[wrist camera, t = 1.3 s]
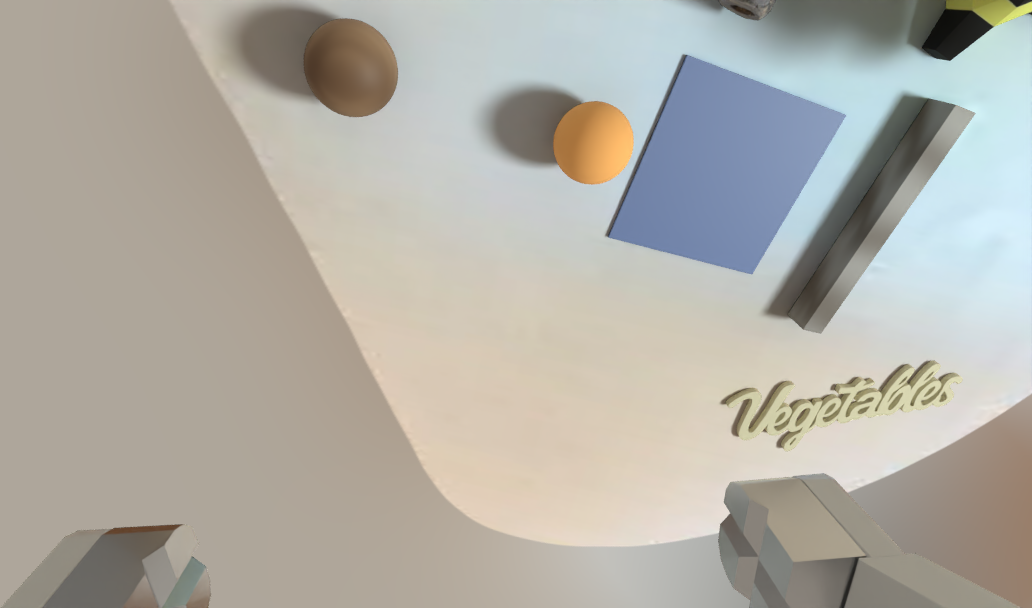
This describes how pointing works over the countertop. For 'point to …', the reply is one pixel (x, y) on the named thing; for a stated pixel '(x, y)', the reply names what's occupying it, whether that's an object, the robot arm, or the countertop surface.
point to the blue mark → (723, 167)
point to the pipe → (749, 7)
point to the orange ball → (593, 142)
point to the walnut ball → (350, 67)
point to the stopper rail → (880, 211)
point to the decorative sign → (843, 403)
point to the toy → (970, 23)
